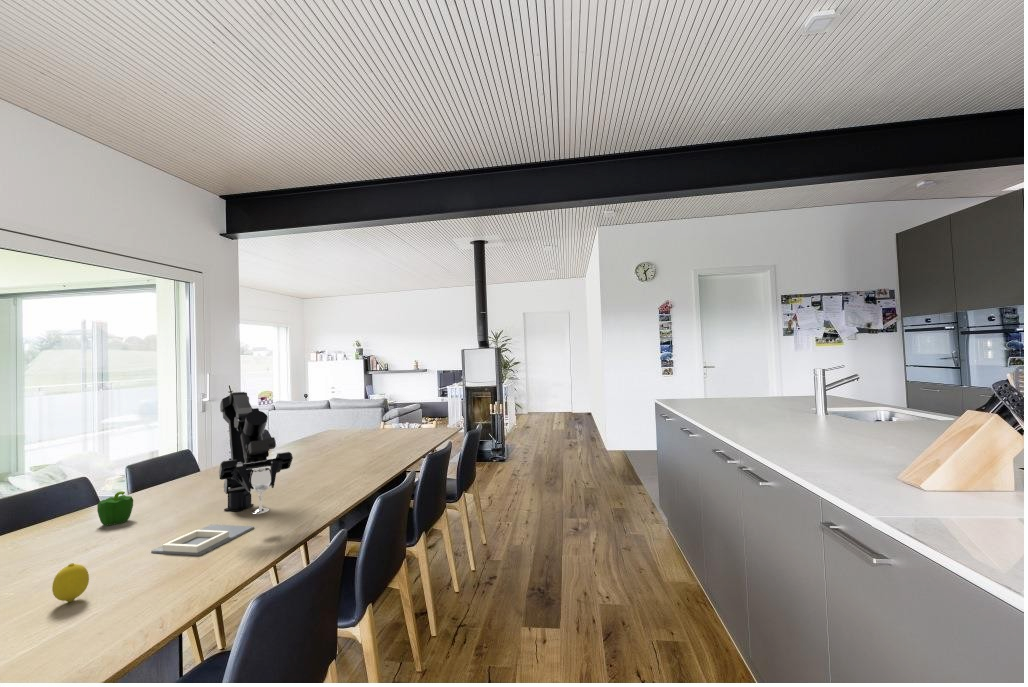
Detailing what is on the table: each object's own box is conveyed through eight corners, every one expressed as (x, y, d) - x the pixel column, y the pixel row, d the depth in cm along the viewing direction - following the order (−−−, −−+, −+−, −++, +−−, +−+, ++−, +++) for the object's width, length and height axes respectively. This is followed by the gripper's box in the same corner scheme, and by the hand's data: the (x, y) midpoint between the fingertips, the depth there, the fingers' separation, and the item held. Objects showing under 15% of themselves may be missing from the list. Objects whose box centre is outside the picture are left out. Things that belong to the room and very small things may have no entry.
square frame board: (151, 552, 119) (151, 544, 119) (210, 526, 138) (210, 519, 138) (200, 555, 117) (200, 547, 117) (254, 528, 135) (254, 521, 135)
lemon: (68, 596, 97) (68, 558, 98) (95, 594, 98) (96, 557, 98) (44, 610, 92) (44, 570, 92) (73, 608, 92) (73, 568, 93)
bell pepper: (91, 526, 141) (92, 494, 141) (122, 517, 148) (122, 487, 149) (107, 529, 138) (107, 496, 138) (138, 520, 145) (138, 489, 146)
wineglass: (276, 509, 132) (276, 468, 132) (257, 515, 127) (257, 473, 127) (263, 506, 135) (263, 466, 135) (244, 512, 130) (244, 471, 130)
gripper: (220, 433, 128) (227, 480, 120) (291, 425, 140) (301, 467, 132) (216, 456, 134) (222, 502, 125) (284, 447, 146) (294, 488, 138)
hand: (261, 489), depth 130 cm, fingers closed on wineglass, 6 cm apart
